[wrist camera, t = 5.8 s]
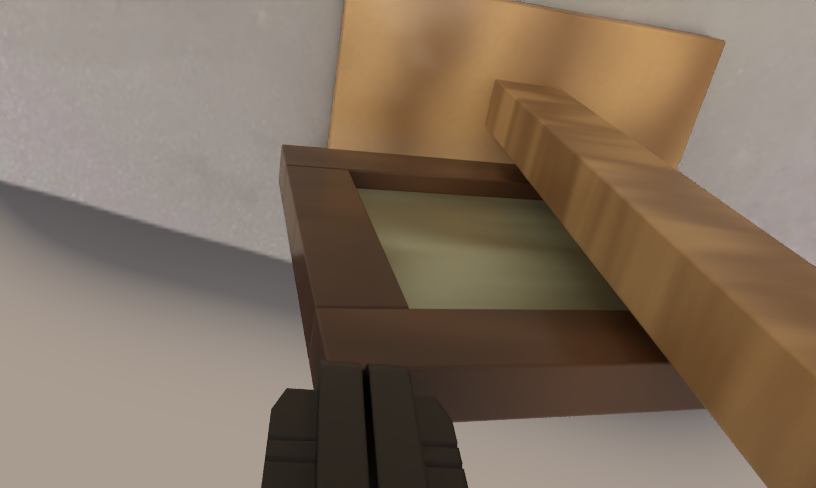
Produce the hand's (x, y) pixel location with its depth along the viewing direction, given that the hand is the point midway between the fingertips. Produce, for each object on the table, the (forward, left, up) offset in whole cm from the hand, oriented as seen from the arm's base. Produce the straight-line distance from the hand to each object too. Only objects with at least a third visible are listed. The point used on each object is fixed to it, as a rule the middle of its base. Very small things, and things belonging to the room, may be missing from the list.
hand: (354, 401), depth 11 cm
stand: (+7, +2, -18) cm, 20 cm away
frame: (+6, 0, -13) cm, 14 cm away
